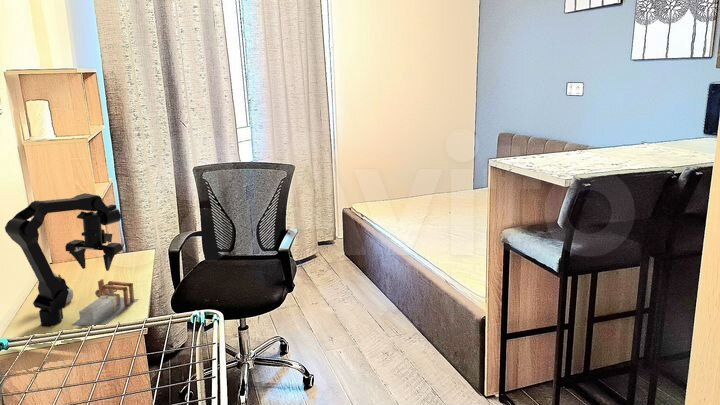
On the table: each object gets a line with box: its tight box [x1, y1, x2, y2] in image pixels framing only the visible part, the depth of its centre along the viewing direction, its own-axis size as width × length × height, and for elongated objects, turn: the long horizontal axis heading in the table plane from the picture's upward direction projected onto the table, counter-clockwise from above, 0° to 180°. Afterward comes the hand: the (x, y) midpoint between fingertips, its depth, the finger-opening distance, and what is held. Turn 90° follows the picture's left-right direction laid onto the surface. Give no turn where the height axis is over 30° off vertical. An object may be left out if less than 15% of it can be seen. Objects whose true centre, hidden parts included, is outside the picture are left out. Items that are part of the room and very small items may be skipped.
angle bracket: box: [107, 280, 135, 302], centre depth 188 cm, size 1×9×7 cm, turn 82°
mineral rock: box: [95, 283, 118, 298], centre depth 196 cm, size 11×4×8 cm
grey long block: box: [78, 292, 121, 327], centre depth 177 cm, size 15×5×5 cm, turn 172°
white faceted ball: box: [52, 271, 74, 305], centre depth 185 cm, size 8×10×12 cm
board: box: [71, 296, 140, 328], centre depth 181 cm, size 22×11×1 cm, turn 172°
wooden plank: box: [97, 278, 105, 297], centre depth 188 cm, size 2×1×9 cm, turn 172°
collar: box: [102, 284, 129, 306], centre depth 185 cm, size 1×9×7 cm, turn 82°
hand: (95, 269), depth 186 cm, fingers open, 9 cm apart
